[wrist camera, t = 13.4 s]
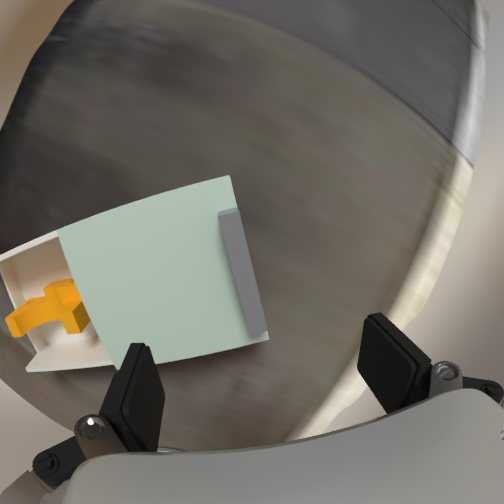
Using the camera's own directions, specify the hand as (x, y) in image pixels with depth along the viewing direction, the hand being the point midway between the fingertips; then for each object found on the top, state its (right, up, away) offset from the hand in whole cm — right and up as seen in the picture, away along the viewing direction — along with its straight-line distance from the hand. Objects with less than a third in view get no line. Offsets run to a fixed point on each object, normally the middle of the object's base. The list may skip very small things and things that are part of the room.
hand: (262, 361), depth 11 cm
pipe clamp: (-25, -1, +18) cm, 31 cm away
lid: (-8, +2, +13) cm, 15 cm away
